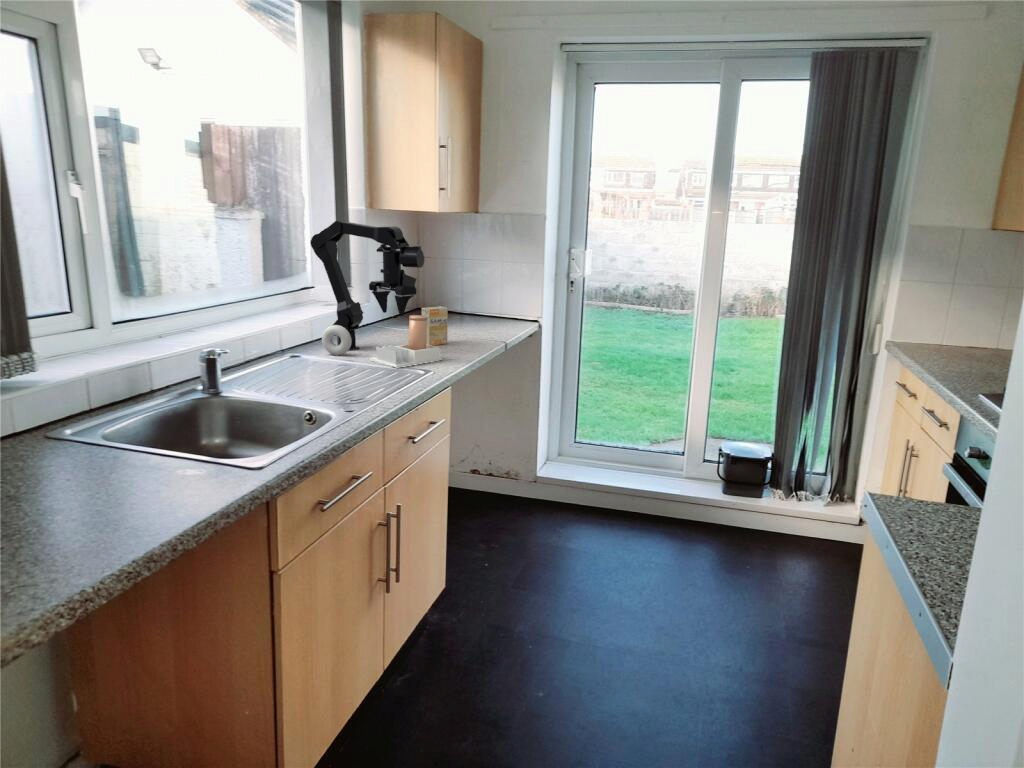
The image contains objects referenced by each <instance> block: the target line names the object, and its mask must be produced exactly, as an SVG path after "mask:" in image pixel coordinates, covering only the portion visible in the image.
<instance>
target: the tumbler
mask: <svg viewBox="0 0 1024 768" xmlns="http://www.w3.org/2000/svg"><path fill="white" fill-rule="evenodd" d="M408 319H409V321H408V323H409V324H408V325H409V326H408V344H409V349H411V350H414V351H416V350H422V349H426V346H427V320H428V317H427V316H422V314H421V315H420V314H419V315H417V314H412V315H409V317H408Z"/></svg>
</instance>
